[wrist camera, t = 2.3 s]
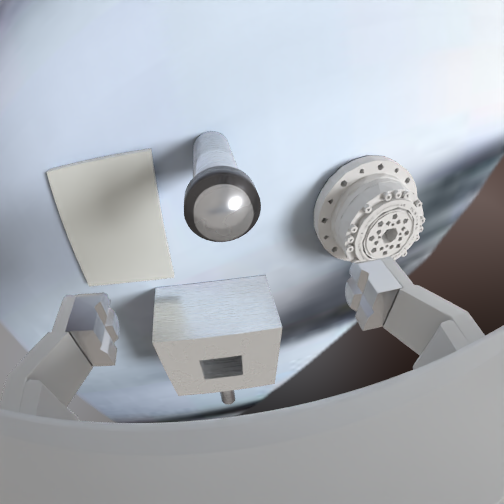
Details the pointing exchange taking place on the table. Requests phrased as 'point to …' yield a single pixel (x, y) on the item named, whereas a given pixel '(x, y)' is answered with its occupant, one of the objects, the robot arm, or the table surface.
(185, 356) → the block
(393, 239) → the mechanical component
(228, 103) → the table surface
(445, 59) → the table surface
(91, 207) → the mat
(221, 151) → the grey capped cylinder
